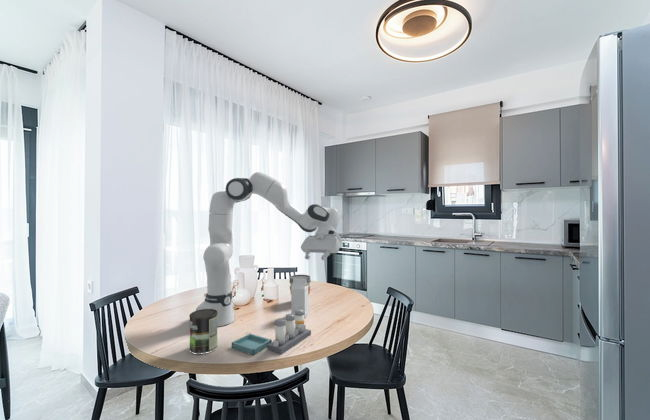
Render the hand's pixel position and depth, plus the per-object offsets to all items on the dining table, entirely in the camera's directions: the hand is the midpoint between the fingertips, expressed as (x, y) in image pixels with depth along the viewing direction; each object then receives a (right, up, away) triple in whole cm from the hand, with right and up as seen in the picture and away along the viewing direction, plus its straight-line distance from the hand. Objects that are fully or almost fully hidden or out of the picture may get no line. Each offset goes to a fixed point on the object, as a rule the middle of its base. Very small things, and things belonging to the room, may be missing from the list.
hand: (314, 259), depth 137 cm
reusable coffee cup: (-10, -32, +35) cm, 48 cm away
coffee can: (-43, -32, -22) cm, 58 cm away
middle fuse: (-9, -29, -17) cm, 35 cm away
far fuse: (-13, -30, -22) cm, 39 cm away
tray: (-25, -32, -20) cm, 45 cm away
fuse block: (-9, -31, -17) cm, 37 cm away
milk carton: (-8, -32, +13) cm, 35 cm away
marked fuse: (-6, -29, -11) cm, 32 cm away
